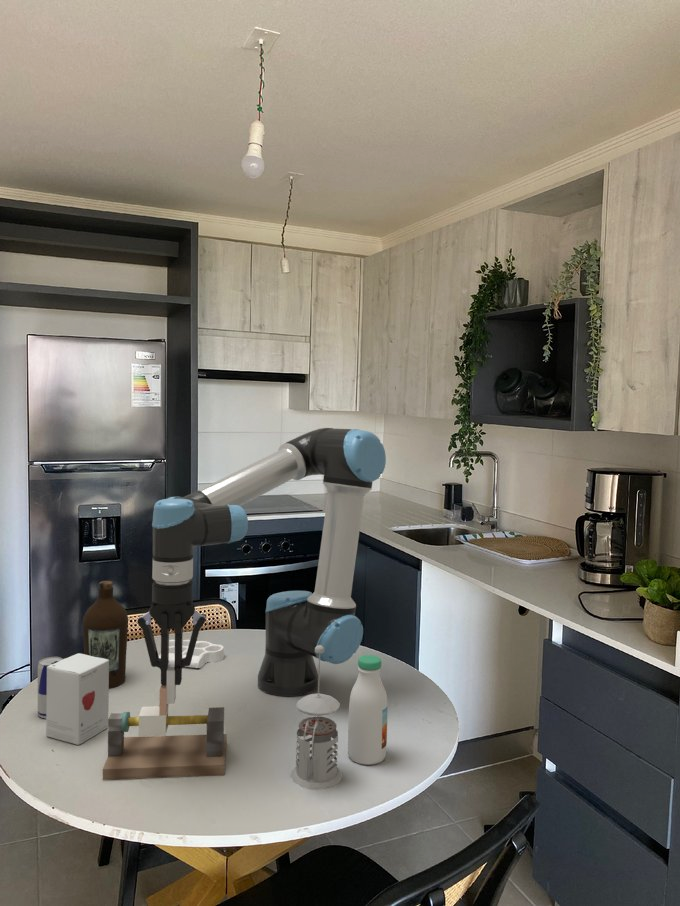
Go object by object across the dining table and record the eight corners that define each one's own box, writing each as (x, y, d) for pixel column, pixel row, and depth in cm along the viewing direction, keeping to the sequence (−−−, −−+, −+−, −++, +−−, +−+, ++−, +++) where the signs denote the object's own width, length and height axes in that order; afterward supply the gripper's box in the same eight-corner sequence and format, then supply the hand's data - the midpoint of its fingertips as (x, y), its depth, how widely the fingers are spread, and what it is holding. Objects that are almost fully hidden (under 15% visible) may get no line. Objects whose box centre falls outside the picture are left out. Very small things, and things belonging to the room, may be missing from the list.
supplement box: (78, 746, 137) (78, 673, 136) (44, 737, 140) (44, 666, 139) (110, 727, 145) (110, 658, 144) (77, 718, 148) (77, 651, 147)
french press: (347, 765, 132) (350, 639, 131) (333, 798, 121) (337, 661, 119) (298, 758, 135) (301, 634, 133) (280, 789, 123) (283, 655, 122)
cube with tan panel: (168, 725, 134) (168, 681, 133) (165, 735, 130) (166, 689, 129) (142, 726, 133) (142, 681, 132) (138, 736, 129) (139, 690, 129)
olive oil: (85, 674, 172) (85, 577, 171) (129, 672, 175) (130, 576, 173) (79, 692, 162) (79, 588, 160) (126, 689, 164) (126, 587, 163)
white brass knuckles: (146, 665, 180) (171, 647, 195) (209, 673, 177) (230, 653, 191) (146, 653, 180) (171, 635, 194) (209, 660, 176) (230, 641, 191)
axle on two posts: (226, 743, 140) (227, 696, 139) (223, 774, 128) (224, 724, 127) (115, 747, 137) (116, 699, 136) (102, 779, 125) (102, 728, 124)
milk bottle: (374, 770, 131) (377, 668, 129) (340, 758, 135) (343, 659, 134) (392, 753, 137) (396, 656, 136) (359, 742, 141) (362, 648, 140)
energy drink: (54, 720, 147) (54, 666, 146) (32, 717, 148) (32, 664, 148) (69, 710, 153) (69, 657, 152) (47, 707, 154) (47, 655, 153)
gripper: (134, 585, 125) (133, 710, 127) (206, 585, 127) (203, 708, 128) (140, 575, 133) (139, 693, 134) (208, 575, 134) (206, 691, 136)
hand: (171, 700), depth 131 cm, fingers closed
